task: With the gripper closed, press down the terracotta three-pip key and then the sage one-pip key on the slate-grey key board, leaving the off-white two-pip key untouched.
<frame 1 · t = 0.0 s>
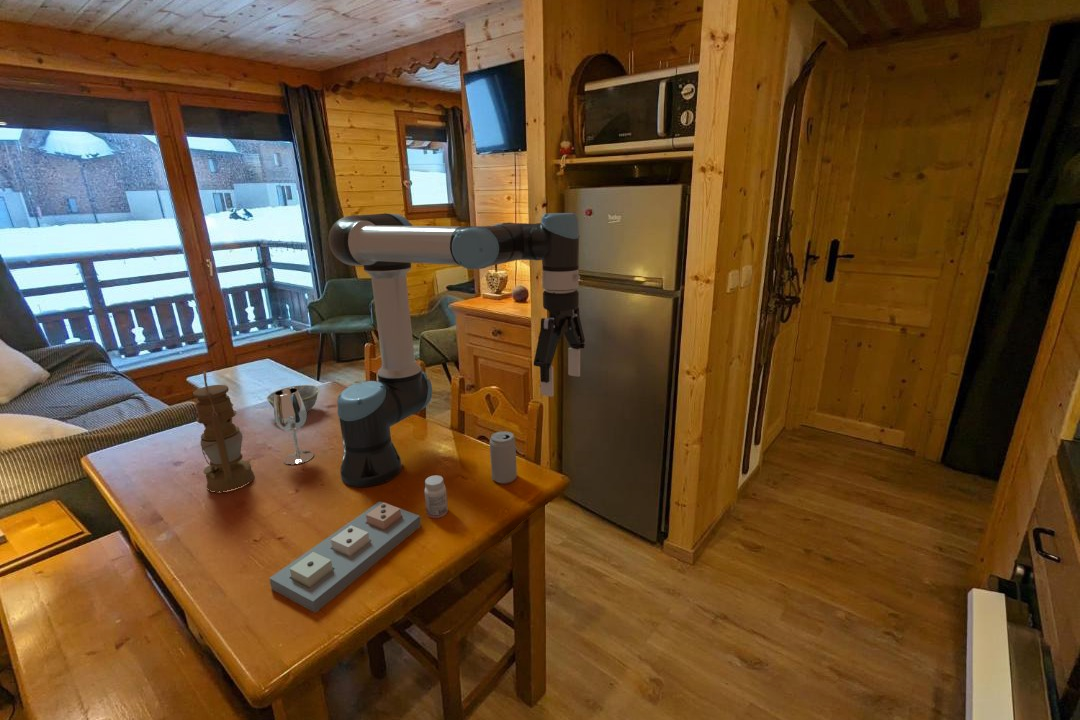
hand: (561, 385, 110), 28 cm above the table, fingers open, 13 cm apart
lantern: (231, 482, 126), on the table
beverage can: (504, 479, 125), on the table
key two: (350, 541, 98), point 3 cm above the table, slide at 0.0 cm
bowl: (297, 414, 167), on the table
pill bottle: (437, 512, 112), on the table
key three: (383, 516, 106), point 3 cm above the table, slide at 0.0 cm
key board: (352, 554, 99), on the table
wineglass: (299, 458, 137), on the table
key one: (311, 569, 91), point 3 cm above the table, slide at 0.0 cm
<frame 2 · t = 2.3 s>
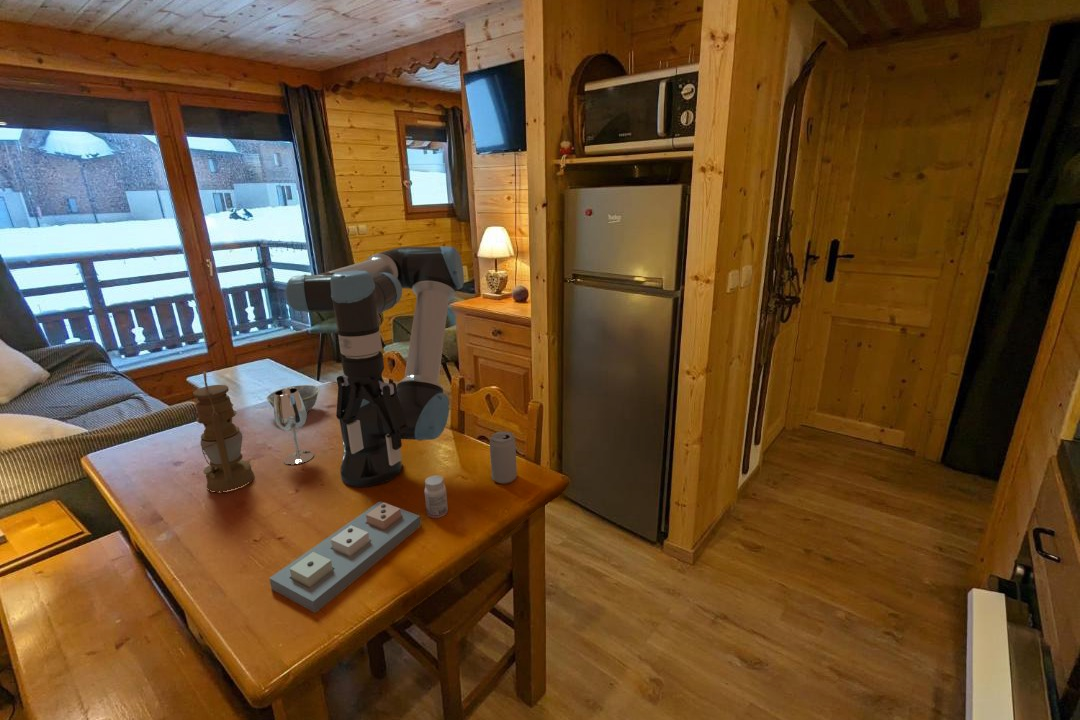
hand: (376, 456, 101), 18 cm above the table, fingers open, 10 cm apart
nothing on the table moved.
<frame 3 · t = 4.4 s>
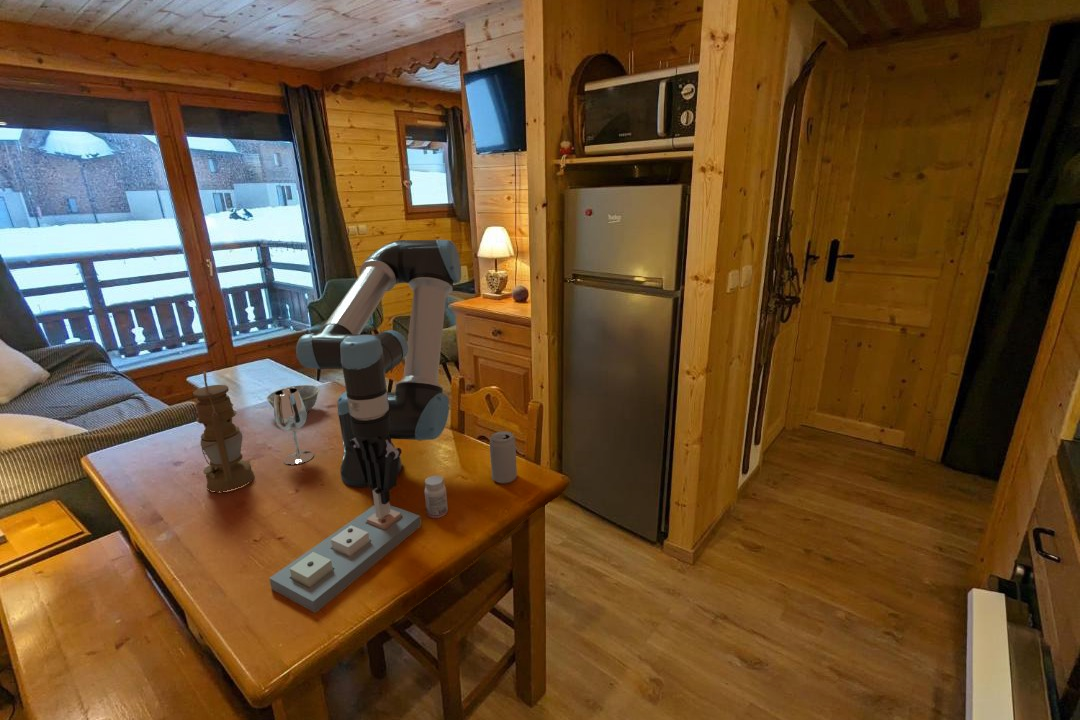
hand: (383, 514, 105), 4 cm above the table, fingers closed
key three: (384, 520, 106), point 2 cm above the table, slide at 1.1 cm
everything else where it was.
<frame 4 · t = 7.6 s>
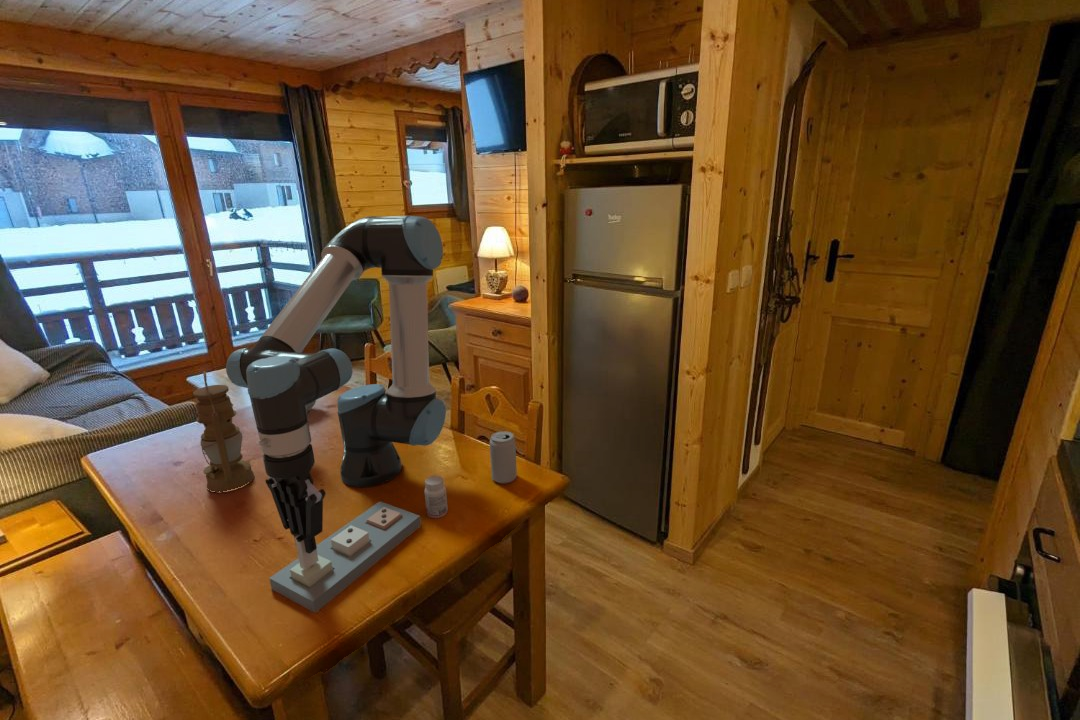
hand: (309, 564, 90), 5 cm above the table, fingers closed
key one: (311, 570, 91), point 3 cm above the table, slide at 0.3 cm, touching gripper
everything else where it was.
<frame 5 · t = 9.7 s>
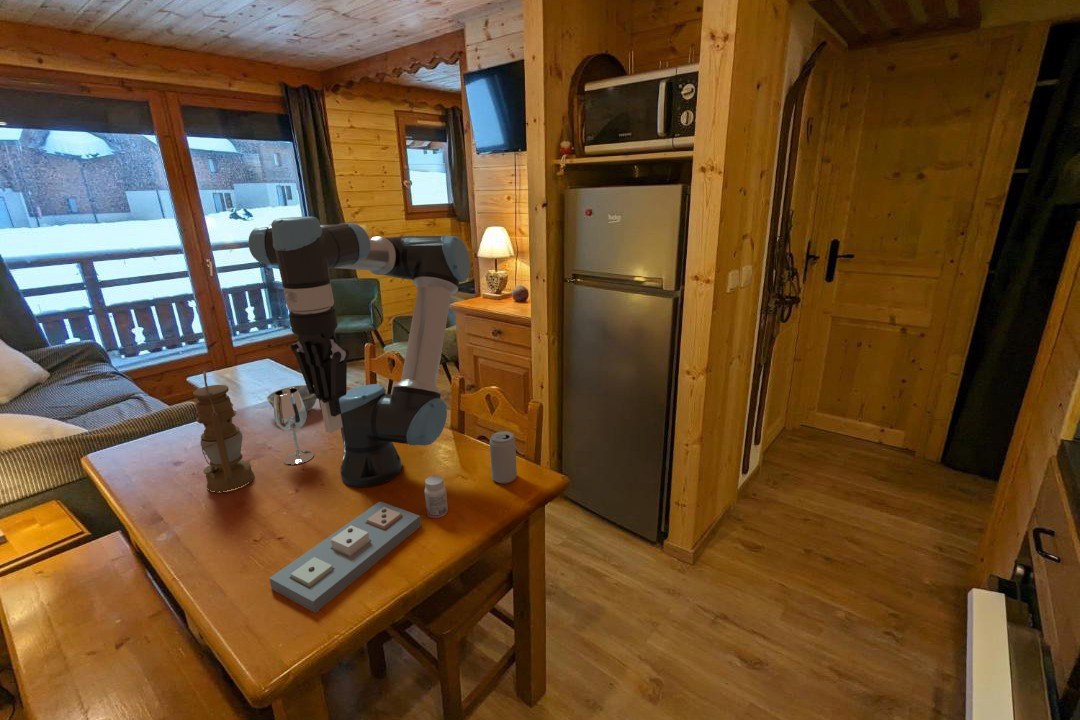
hand: (334, 429, 94), 26 cm above the table, fingers closed
key one: (312, 575, 91), point 2 cm above the table, slide at 1.2 cm
everything else where it was.
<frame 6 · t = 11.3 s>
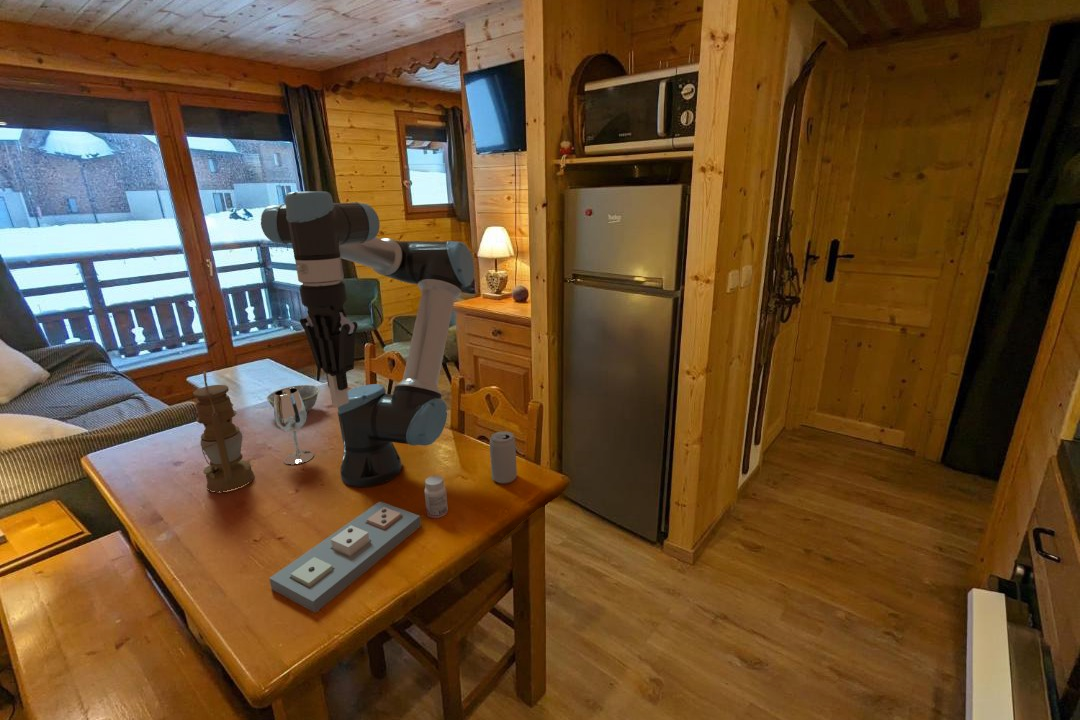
hand: (340, 404, 95), 30 cm above the table, fingers closed
nothing on the table moved.
at the end: key three slide at 1.2 cm; key one slide at 1.2 cm; key two slide at 0.0 cm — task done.
